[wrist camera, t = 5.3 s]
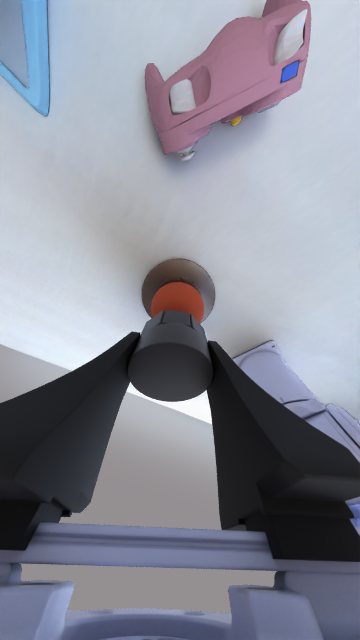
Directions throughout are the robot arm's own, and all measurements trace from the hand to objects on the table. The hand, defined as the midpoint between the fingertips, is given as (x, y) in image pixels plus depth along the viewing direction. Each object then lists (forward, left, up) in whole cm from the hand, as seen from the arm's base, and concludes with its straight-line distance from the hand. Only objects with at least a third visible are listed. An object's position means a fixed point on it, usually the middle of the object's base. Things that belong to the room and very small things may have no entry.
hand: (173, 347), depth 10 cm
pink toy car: (+11, -12, -10) cm, 20 cm away
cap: (0, 0, -1) cm, 1 cm away
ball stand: (0, 0, -10) cm, 10 cm away
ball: (0, 0, -6) cm, 6 cm away
